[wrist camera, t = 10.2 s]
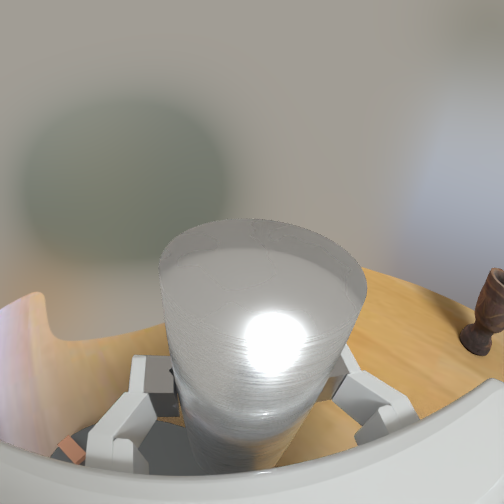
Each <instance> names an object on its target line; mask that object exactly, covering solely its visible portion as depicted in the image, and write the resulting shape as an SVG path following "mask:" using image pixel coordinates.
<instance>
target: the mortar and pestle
mask: <svg viewBox="0 0 504 504" xmlns="http://www.w3.org/2000/svg"><path fill="white" fill-rule="evenodd" d="M475 318H476V320H475V323H474V324H469V325H467V326H466V327H465V328H464V329H463V330H462V331H461V334H460V340H461V342H462V343H463V345H464V346H465V347H466V348H467V349H468V350H469V351H470V352H472V353H474V354H477V355H481V356H485V355H487V354H488V352H489V350H490V348H491V345H492V341H491V336H492V335H493V334H494V333H499V332H501V331H503V330H504V271H503V270H502V269H499V268H492V269H491V271H490V273H489V275H488V277H487V279H486V282H485V284H484V286H483V288H482V290H481V292H480V295H479V297H478V301H477V304H476V308H475Z"/></svg>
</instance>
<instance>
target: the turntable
mask: <svg viewBox="0 0 504 504" xmlns="http://www.w3.org/2000/svg"><path fill="white" fill-rule="evenodd" d="M95 425H96V424H94V425H92V426H89V427H87V428H84V429H82V430H81V431H79V432H77V433H75V434H73V435H72V436H71V437H70V436H69V435H68V436H67V437H66V438H64V439H63V440H62V441H61V442H60V443H59V444H57V445H58V446H59V447H58V448H57V449H56V450H55V452H54V453H53V454H52V456H51V457H50V458H53V459H57V460H60V461H64V462H68V463H72V464H77V465H81V466H85V460H86V449H87V440H88V433H89V432H90V430H91V429H92V428H93V427H94V426H95ZM138 450H139V451H140V453H141V454H142V455H143V457H144V458H145V459H146V460H147V462H148V463H149V475H162V476H204V475H209V474H208V473H207V472H205V471H204V470H203V469H202V468H201V467H200V466H199V464H198V463H197V462H196V460H195V458H194V456H193V453H192V449H191V446H190V442H189V438H188V434H187V431H186V428H184V427H182V426H178V425H175V424H171V423H168V422H163V421H158V420H156V421H155V423H154V424H153V426H152V427H151V429H150V430H149V432H148V433H147V435H146V437H145V438H144V440H143V441H142V443H141V444H140V446H139V447H138Z"/></svg>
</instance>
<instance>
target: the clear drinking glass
mask: <svg viewBox="0 0 504 504" xmlns="http://www.w3.org/2000/svg"><path fill="white" fill-rule="evenodd" d="M159 277H160V287H161V295H162V304H163V311H164V318H165V326H166V332H167V339H168V345H169V351H170V356H171V362H172V367H173V373H174V378H175V383H176V388H177V392H178V397H179V401H180V406H181V410H182V414H183V419H184V423H185V427H186V431H187V434H188V438H189V442H190V446H191V449H192V453H193V456H194V458H195V460H196V462H197V463H198V464H199V466H200V467H201V468H202V469H203V470H204V471H205V472H207V473H208V474H209V475H221V474H233V473H242V472H251V471H258V470H264V469H271V468H273V467H274V466H275V465H276V463H277V462H278V460H279V459H280V458H281V456H282V455H283V453H284V452H285V450H286V449H287V447H288V446H289V444H290V443H291V441H292V440H293V438H294V437H295V435H296V433H297V432H298V430H299V429H300V427H301V425H302V424H303V422H304V421H305V419H306V417H307V416H308V414H309V412H310V410H311V409H312V407H313V405H314V404H315V402H316V400H317V398H318V397H319V395H320V393H321V391H322V389H323V387H324V386H325V384H326V382H327V380H328V378H329V376H330V374H331V372H332V371H333V369H334V367H335V365H336V363H337V361H338V359H339V357H340V355H341V353H342V350H343V348H344V346H345V344H346V342H347V340H348V338H349V336H350V333H351V331H352V329H353V327H354V325H355V322H356V320H357V318H358V315H359V313H360V311H361V308H362V306H363V303H364V301H365V298H366V294H367V282H366V278H365V275H364V272H363V271H362V269H361V267H360V265H359V264H358V263H357V261H356V260H355V259H354V258H353V257H352V256H351V255H350V254H349V253H348V252H347V251H346V250H345V249H343V248H342V247H341V246H339V245H338V244H336V243H335V242H333V241H332V240H330V239H328V238H326V237H324V236H322V235H320V234H318V233H315V232H313V231H311V230H308V229H305V228H302V227H299V226H295V225H292V224H287V223H283V222H278V221H272V220H263V219H227V220H219V221H214V222H209V223H205V224H202V225H199V226H196V227H193V228H191V229H189V230H187V231H185V232H183V233H181V234H180V235H178V236H177V237H175V238H174V239H173V240H172V241H171V242H170V243H169V244H168V245H167V246H166V247H165V249H164V251H163V252H162V255H161V257H160V260H159Z"/></svg>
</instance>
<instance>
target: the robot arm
mask: <svg viewBox="0 0 504 504" xmlns="http://www.w3.org/2000/svg"><path fill="white" fill-rule="evenodd" d="M177 393H178V392H177V388H176V383H175V378H174V373H173V367H172V362H171V356H152V355H134V356H133V358H132V364H131V372H130V381H129V390H128V392H124V393H123V394H122V395H121V397H120V398H119V399H118V400H117V401H116V402H115V403H114V404H113V406H112V407H111V408H110V409H109V410H108V411H107V412H106V413H105V415H104V416H103V417H102V418H101V419H100V420H99V421H98V423H97V424H96V425H95V426H94V427H93V428H92V429H91V430H90V432H89V433H88V440H87V449H86V460H85V466H81V465H77V464H72V463H68V462H64V461H60V460H57V459H53V458H49V457H46V456H43V455H40V454H36V453H33V452H30V451H28V450H25V449H22V448H19V447H17V446H14V445H11V444H9V443H6V442H4V441H2V440H0V504H504V382H502V381H499V380H497V379H494V378H489V379H487V380H486V381H484V382H483V383H481V384H480V385H479V386H477V387H476V388H474V389H473V390H471V391H470V392H468V393H467V394H465V395H463V396H462V397H460V398H459V399H457V400H455V401H454V402H452V403H450V404H449V405H447V406H445V407H443V408H442V409H440V410H438V411H436V412H434V413H432V414H431V415H429V416H427V417H425V418H423V419H421V420H420V419H419V417H418V415H417V413H416V412H415V410H414V408H413V406H412V405H411V403H410V401H409V399H408V398H407V396H405V395H404V394H402V393H400V392H399V391H397V390H395V389H394V388H392V387H390V386H389V385H387V384H386V383H384V382H382V381H381V380H379V379H378V378H376V377H374V376H373V375H371V374H370V373H368V372H366V371H365V370H364V371H361V369H360V367H359V365H358V363H357V362H356V360H355V358H354V356H353V354H352V353H351V351H350V349H349V347H348V346H347V344H345V346H344V348H343V350H342V353H341V355H340V357H339V359H338V361H337V363H336V365H335V367H334V369H333V371H332V372H331V374H330V376H329V378H328V380H327V382H326V384H325V386H324V387H323V389H322V391H321V393H320V395H319V397H318V398H317V400H316V402H321V401H326V400H331V399H332V401H333V402H334V403H335V404H336V405H338V406H339V407H340V408H341V409H342V410H344V411H345V412H346V413H347V414H348V415H349V416H351V417H352V418H353V419H354V420H355V421H357V422H358V423H359V424H360V425H362V427H361V428H360V429H359V430H358V431H357V432H356V433H355V435H354V438H355V440H356V442H357V445H358V446H357V447H354V448H351V449H348V450H345V451H342V452H338V453H335V454H332V455H328V456H325V457H321V458H317V459H313V460H309V461H305V462H301V463H296V464H292V465H287V466H282V467H276V468H271V469H264V470H258V471H251V472H242V473H233V474H221V475H204V476H162V475H149V463H148V462H147V460H146V459H145V458H144V457H143V455H142V454H141V453H140V451H139V450H138V447H139V446H140V444H141V443H142V441H143V440H144V438H145V437H146V435H147V433H148V432H149V430H150V429H151V427H152V426H153V424H154V423H155V421H156V420H157V417H179V400H178V395H177Z"/></svg>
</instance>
